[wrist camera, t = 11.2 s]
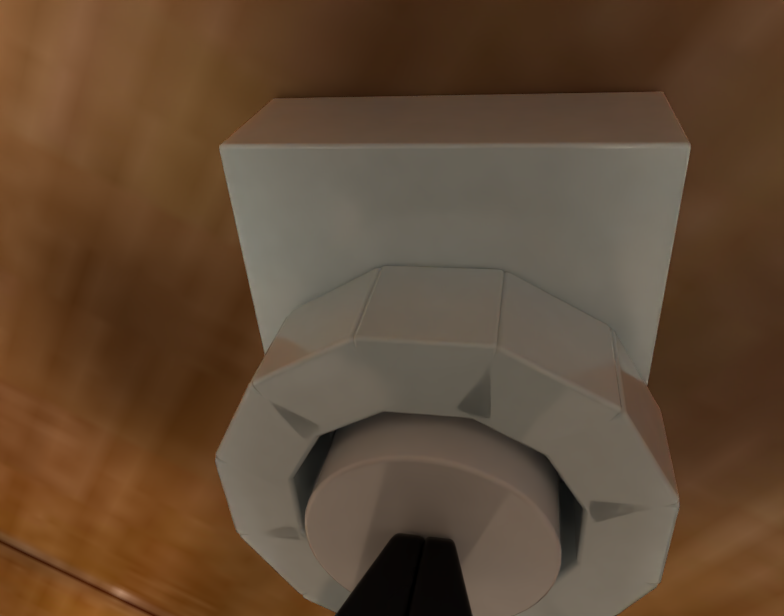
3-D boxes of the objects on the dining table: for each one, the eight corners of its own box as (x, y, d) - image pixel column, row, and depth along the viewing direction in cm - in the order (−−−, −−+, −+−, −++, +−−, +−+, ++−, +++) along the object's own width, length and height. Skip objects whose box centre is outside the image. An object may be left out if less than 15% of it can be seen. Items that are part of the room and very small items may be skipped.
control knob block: (608, 539, 15) (625, 728, 12) (331, 509, 16) (277, 672, 13) (683, 89, 9) (756, 209, 6) (256, 97, 11) (130, 200, 7)
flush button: (552, 542, 11) (553, 641, 10) (347, 520, 12) (320, 609, 10) (567, 378, 9) (571, 472, 8) (321, 363, 10) (284, 446, 9)
